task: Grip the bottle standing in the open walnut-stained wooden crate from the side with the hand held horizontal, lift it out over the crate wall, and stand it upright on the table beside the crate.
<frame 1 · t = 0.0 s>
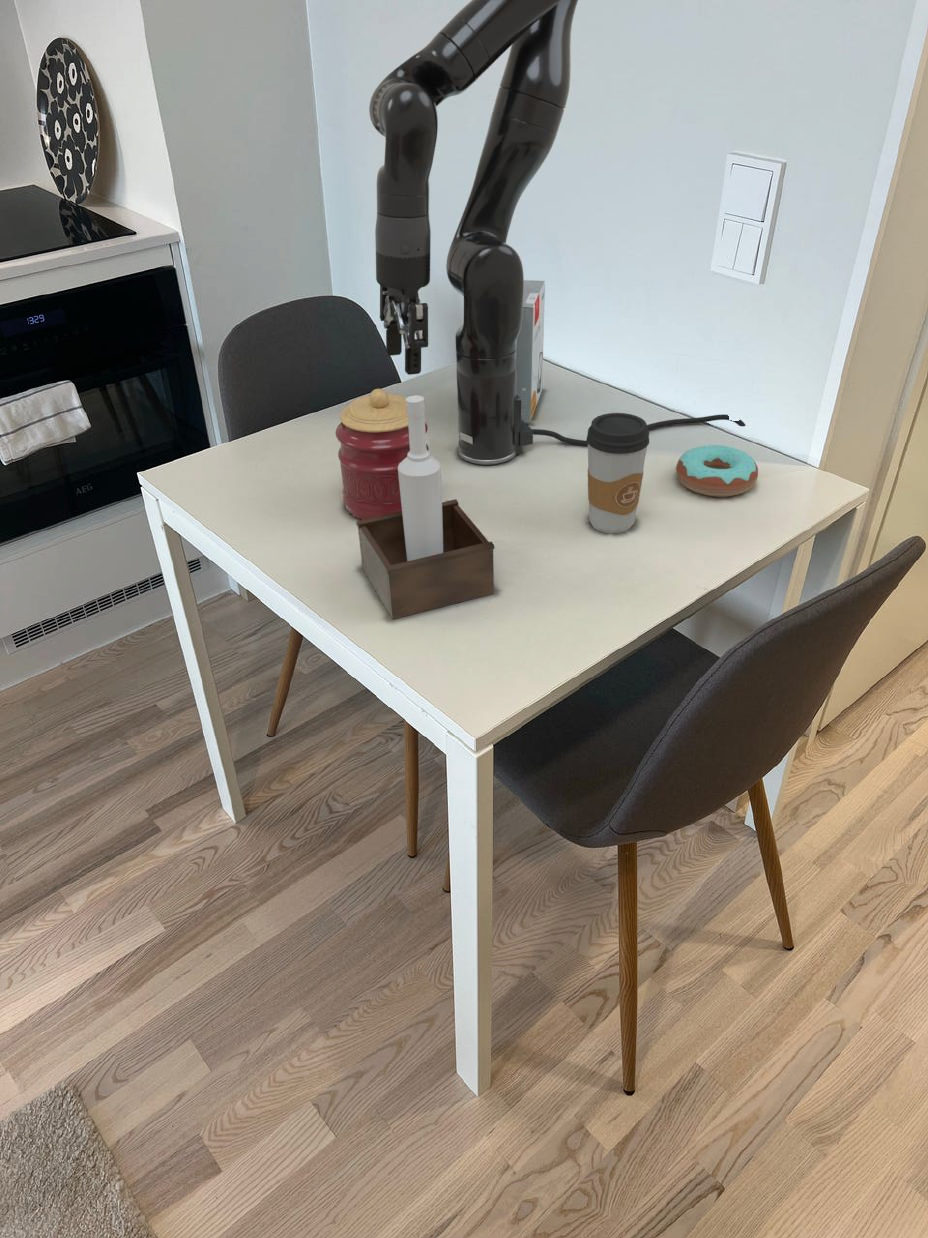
hand: (403, 363, 137), 17 cm above the table, tool pointing down, fingers open, 8 cm apart
kitchen canister: (388, 504, 138), on the table
donut: (714, 483, 141), on the table
crate: (426, 581, 121), on the table
coffee cup: (611, 524, 132), on the table
bottle: (426, 582, 121), resting in crate
hard drive box: (516, 406, 166), on the table
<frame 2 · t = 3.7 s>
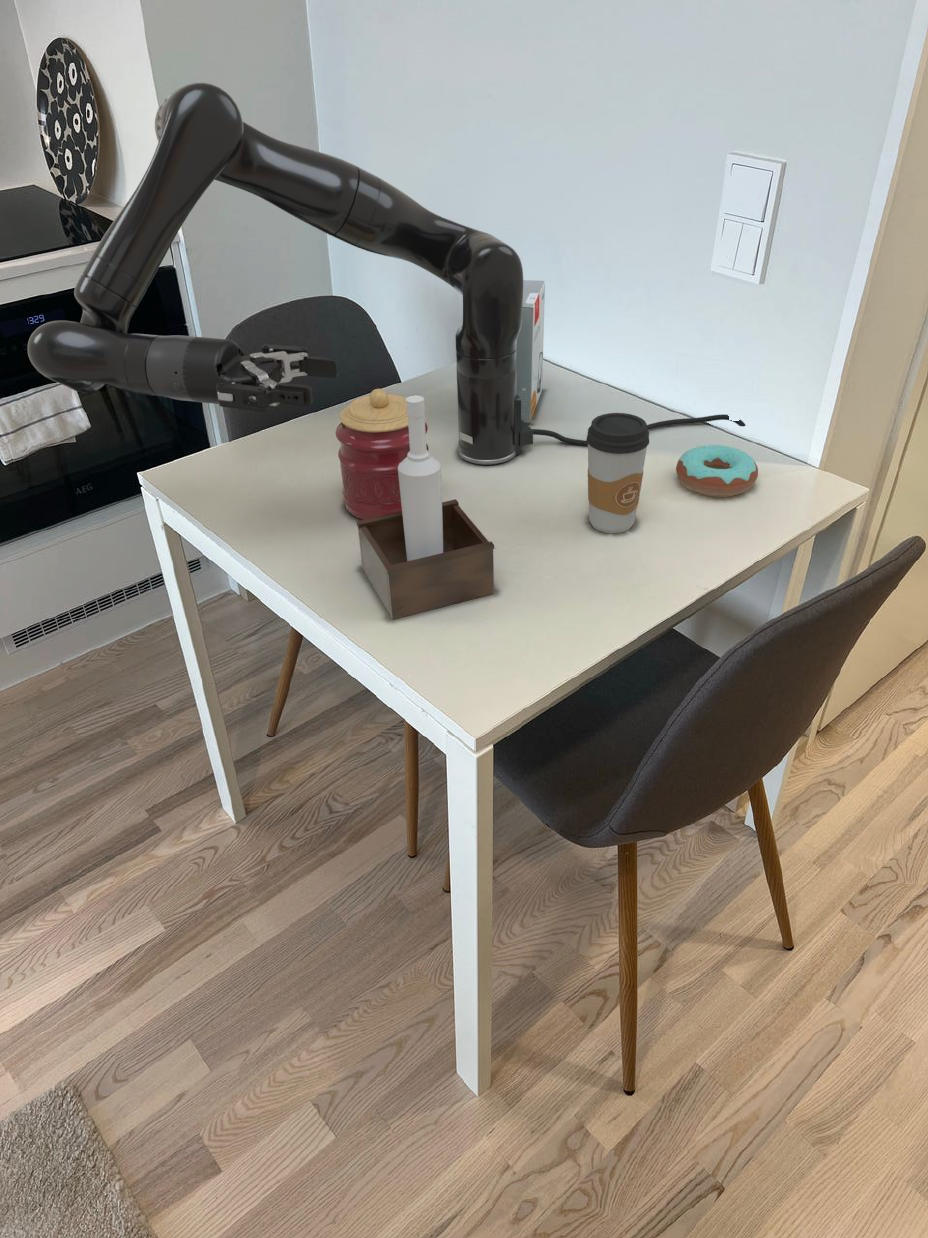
hand: (324, 381, 108), 26 cm above the table, tool horizontal, fingers open, 8 cm apart
nothing on the table moved.
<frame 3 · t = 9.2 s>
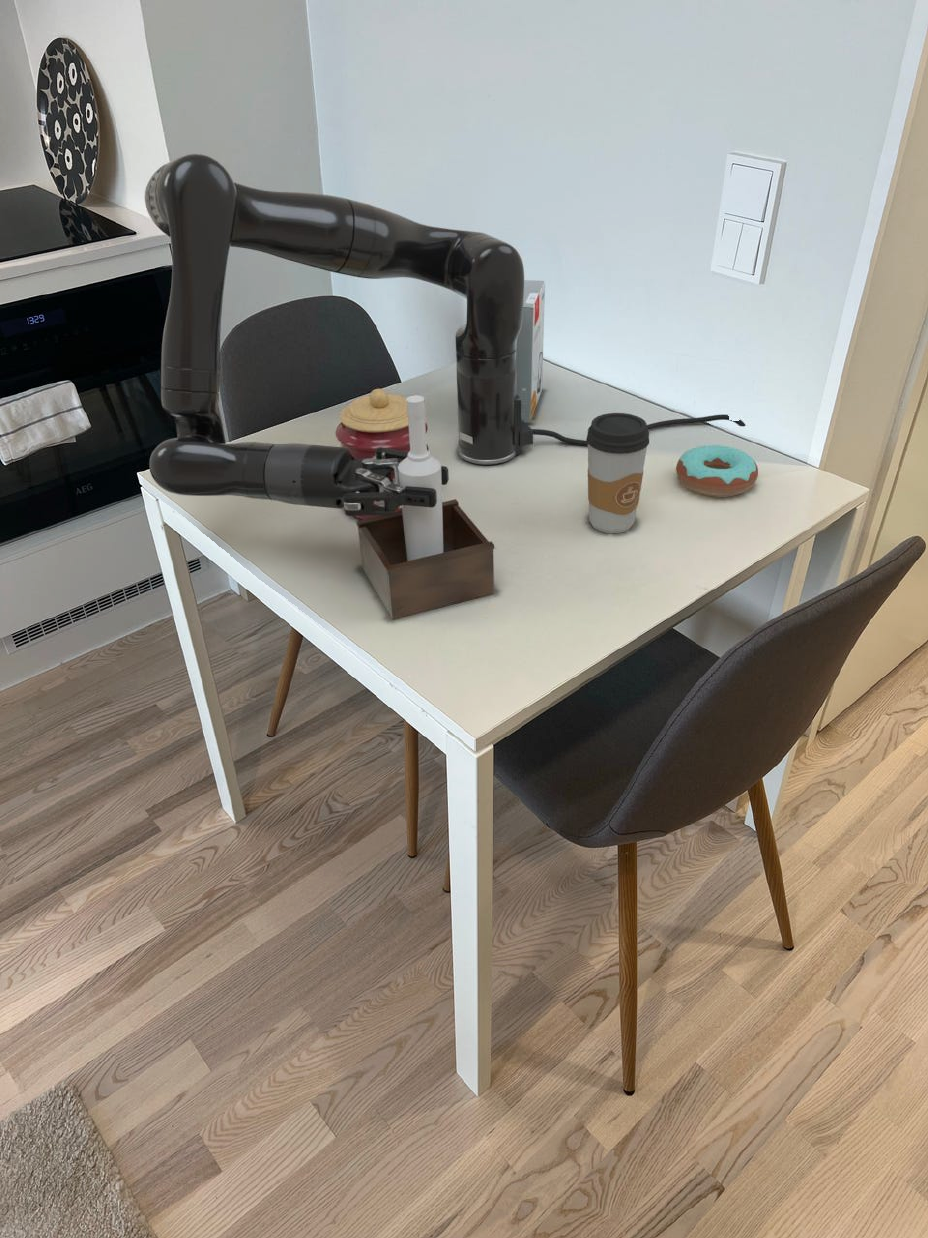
hand: (441, 486, 112), 14 cm above the table, tool horizontal, fingers closed on bottle, 5 cm apart
bottle: (426, 582, 121), resting in crate, touching gripper
everything else where it was.
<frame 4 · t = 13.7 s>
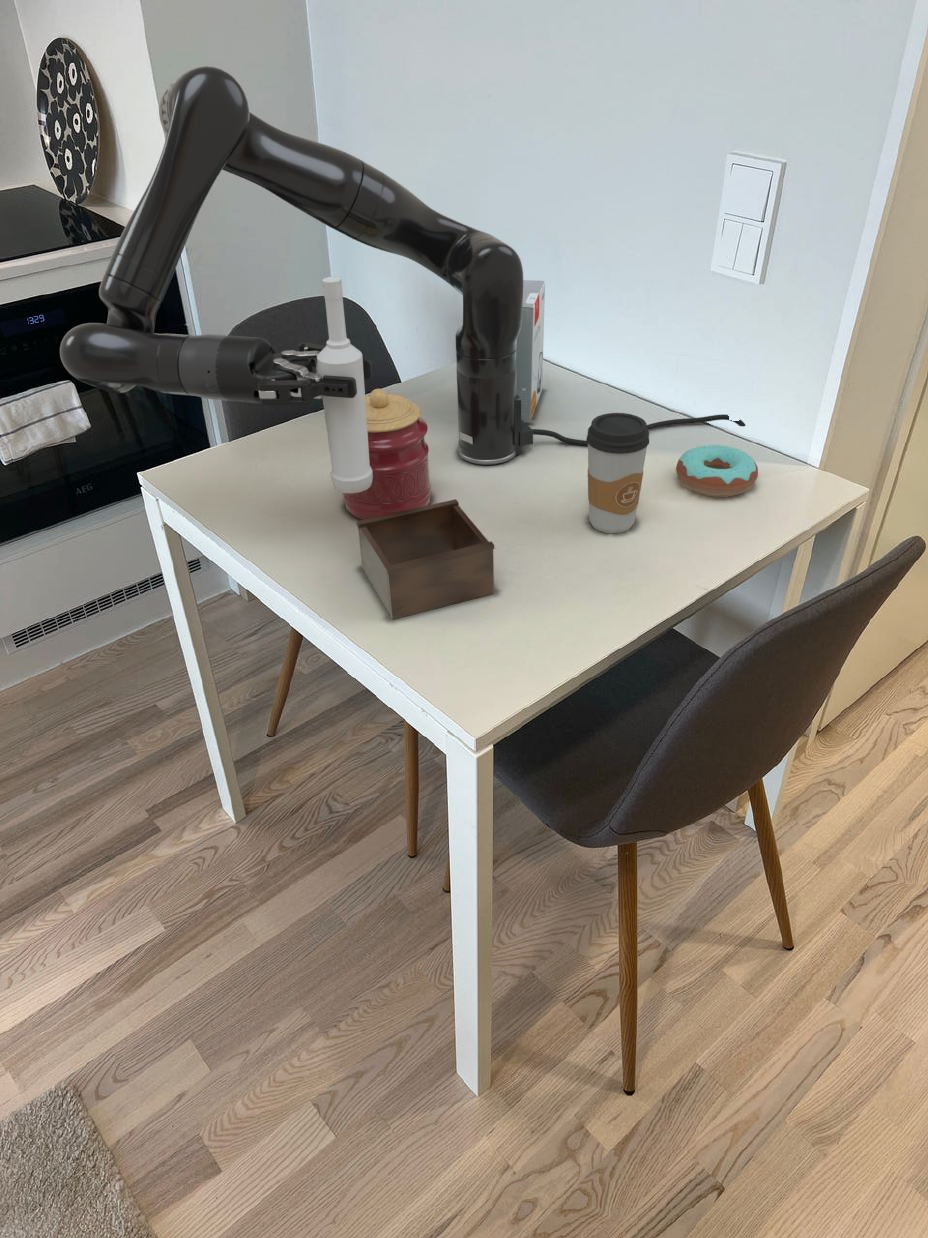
hand: (363, 378, 107), 27 cm above the table, tool horizontal, fingers closed on bottle, 5 cm apart
bottle: (352, 485, 116), point 13 cm above the table, touching gripper
everything else where it was.
when the fingers open (14 cm above the table, at t = 18.2 s): bottle stays where it is, on the table.
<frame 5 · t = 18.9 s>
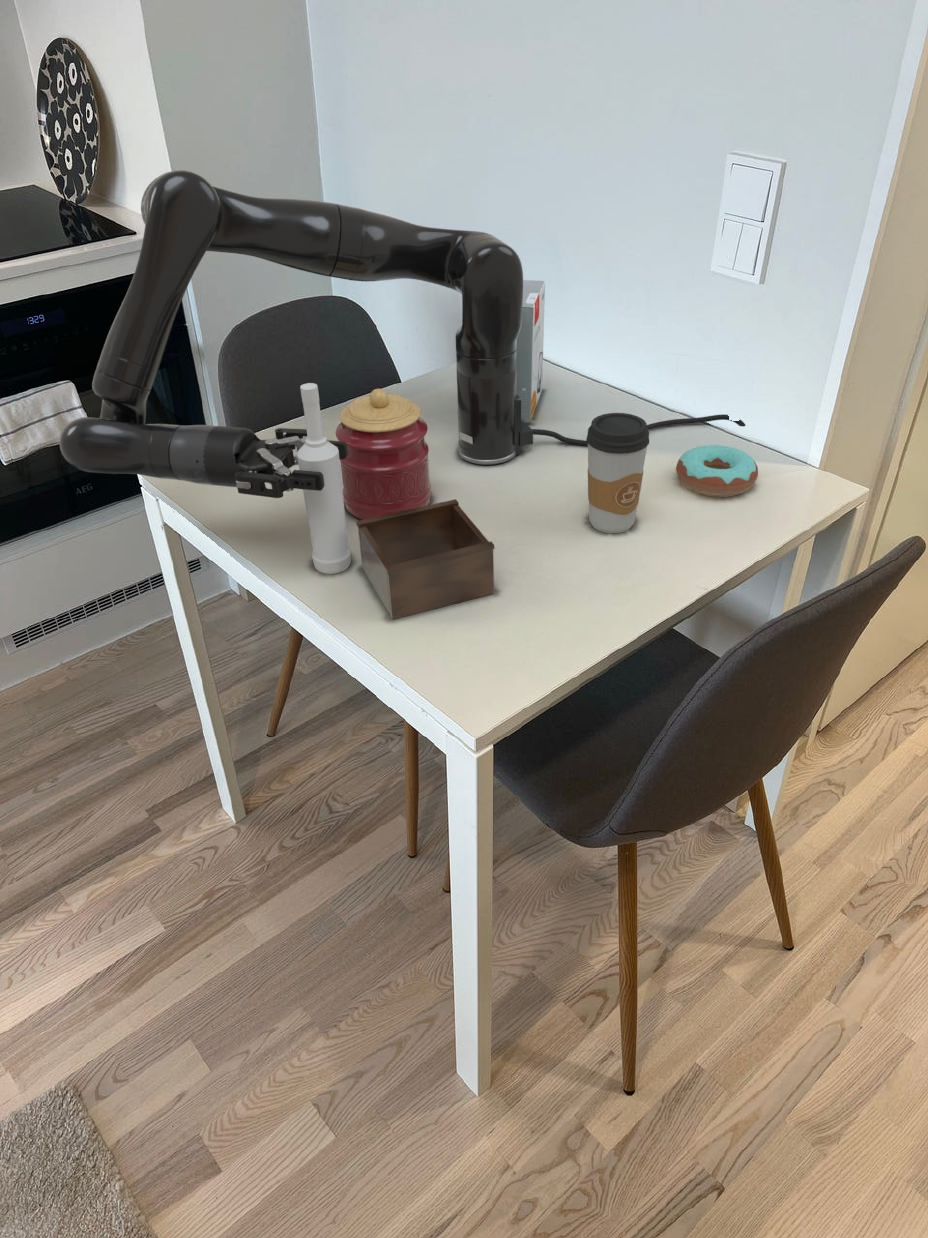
hand: (335, 465, 116), 15 cm above the table, tool horizontal, fingers open, 8 cm apart
bottle: (332, 565, 125), on the table
everything else where it was.
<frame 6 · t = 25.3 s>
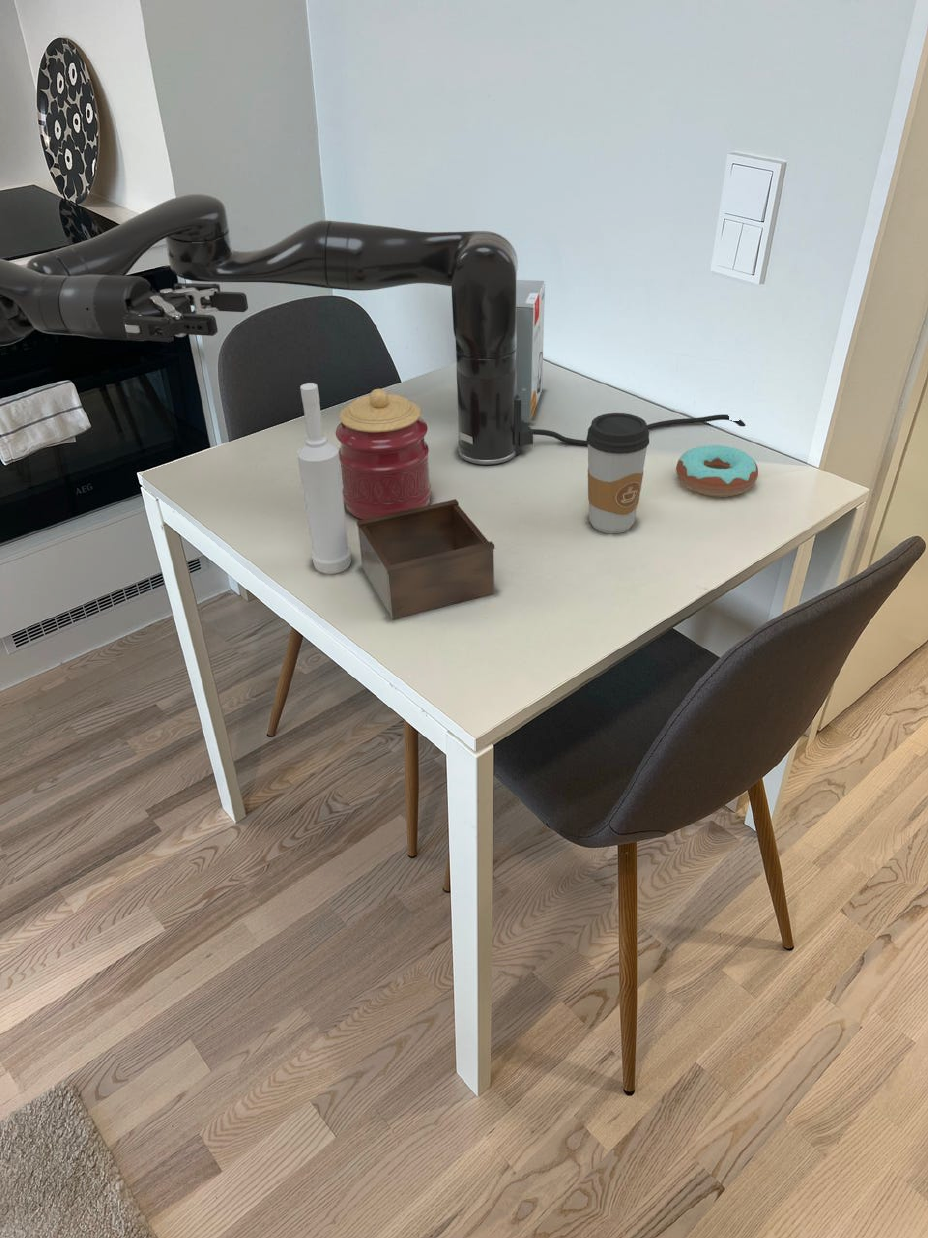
hand: (231, 313, 111), 32 cm above the table, tool horizontal, fingers open, 8 cm apart
nothing on the table moved.
at the end: bottle inside the target area (0.2 cm from its centre), on the table; bottle tilted 0°; the gripper is holding nothing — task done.
